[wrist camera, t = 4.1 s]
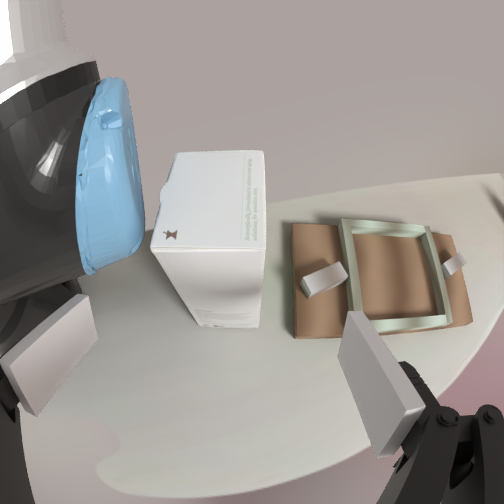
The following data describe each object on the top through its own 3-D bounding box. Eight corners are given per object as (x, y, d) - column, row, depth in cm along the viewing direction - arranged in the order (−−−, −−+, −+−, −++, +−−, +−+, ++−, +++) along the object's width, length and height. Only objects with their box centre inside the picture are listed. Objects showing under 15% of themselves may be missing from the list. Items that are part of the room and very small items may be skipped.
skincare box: (258, 329, 27) (272, 257, 14) (193, 327, 27) (142, 254, 13) (259, 256, 31) (268, 147, 18) (201, 255, 31) (172, 147, 18)
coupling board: (294, 338, 27) (300, 331, 24) (291, 230, 33) (295, 213, 30) (466, 325, 27) (481, 317, 24) (445, 240, 33) (457, 228, 30)
